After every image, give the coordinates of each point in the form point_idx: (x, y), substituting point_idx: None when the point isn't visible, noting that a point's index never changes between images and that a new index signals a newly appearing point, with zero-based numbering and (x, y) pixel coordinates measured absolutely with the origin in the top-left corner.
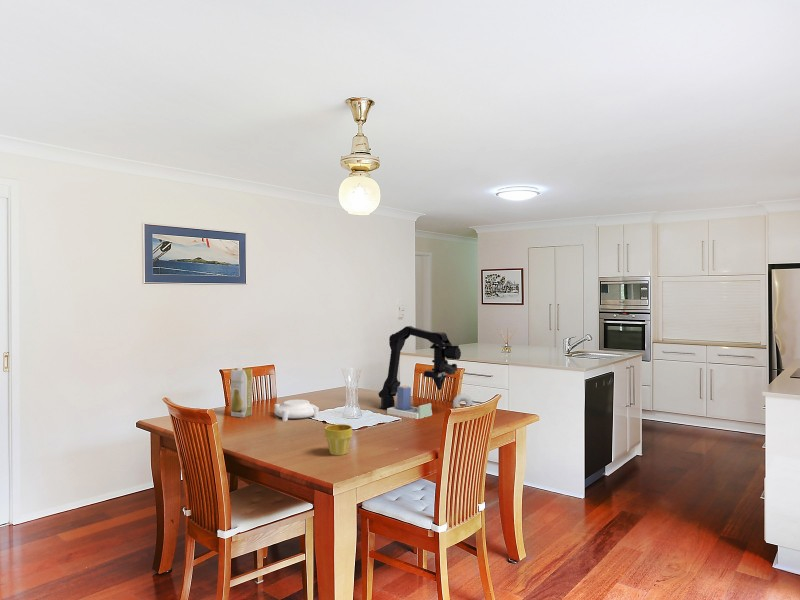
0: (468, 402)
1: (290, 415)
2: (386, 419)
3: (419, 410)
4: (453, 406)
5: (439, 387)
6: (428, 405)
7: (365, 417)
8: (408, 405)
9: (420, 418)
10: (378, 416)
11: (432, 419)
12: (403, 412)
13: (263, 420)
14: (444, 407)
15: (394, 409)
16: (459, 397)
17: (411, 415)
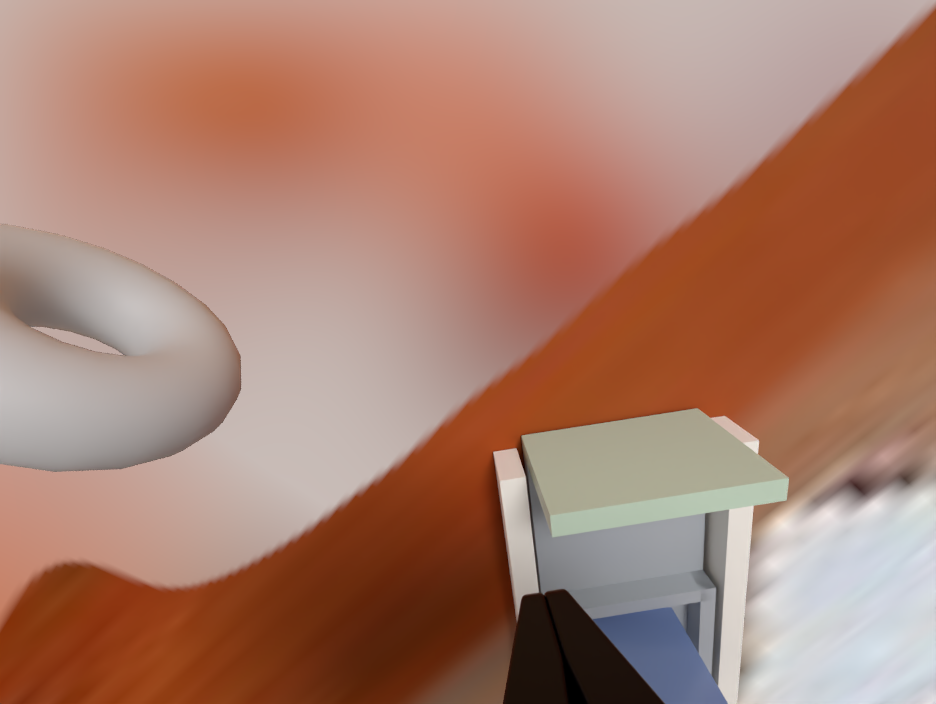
0: None
1: None
2: (879, 550)
3: (749, 456)
4: (238, 392)
5: (612, 652)
6: (607, 494)
7: (905, 665)
8: (637, 664)
9: (692, 409)
10: (827, 644)
11: (632, 320)
12: (741, 574)
13: None
14: (154, 603)
15: (726, 671)
16: (72, 376)
17: None
